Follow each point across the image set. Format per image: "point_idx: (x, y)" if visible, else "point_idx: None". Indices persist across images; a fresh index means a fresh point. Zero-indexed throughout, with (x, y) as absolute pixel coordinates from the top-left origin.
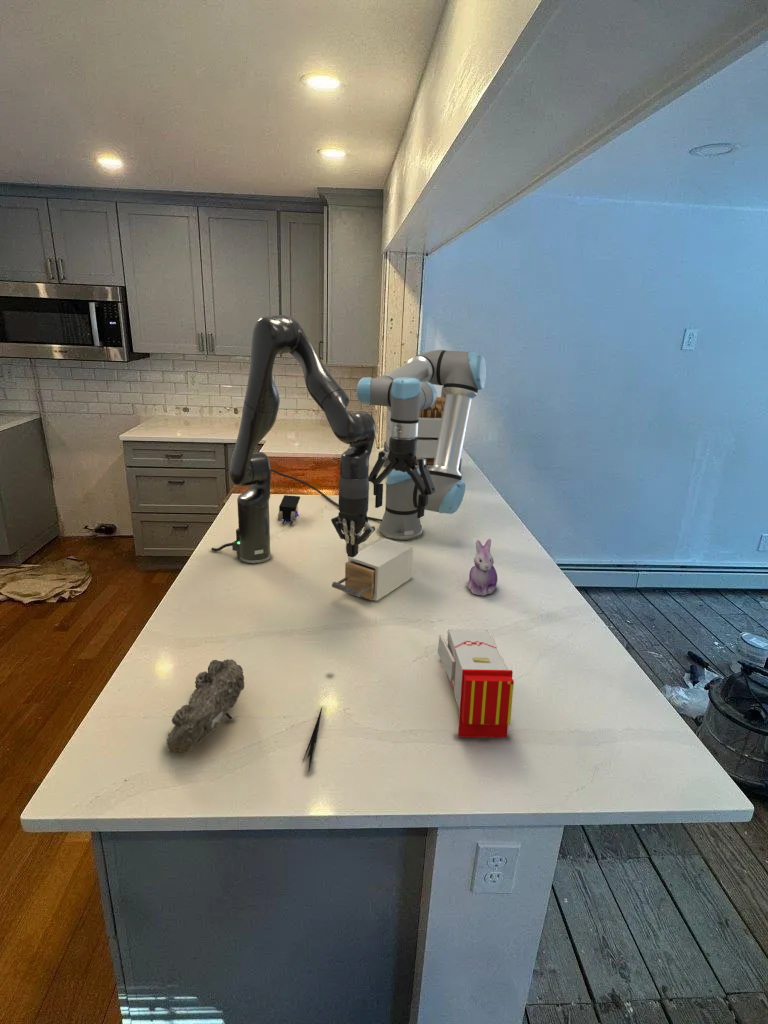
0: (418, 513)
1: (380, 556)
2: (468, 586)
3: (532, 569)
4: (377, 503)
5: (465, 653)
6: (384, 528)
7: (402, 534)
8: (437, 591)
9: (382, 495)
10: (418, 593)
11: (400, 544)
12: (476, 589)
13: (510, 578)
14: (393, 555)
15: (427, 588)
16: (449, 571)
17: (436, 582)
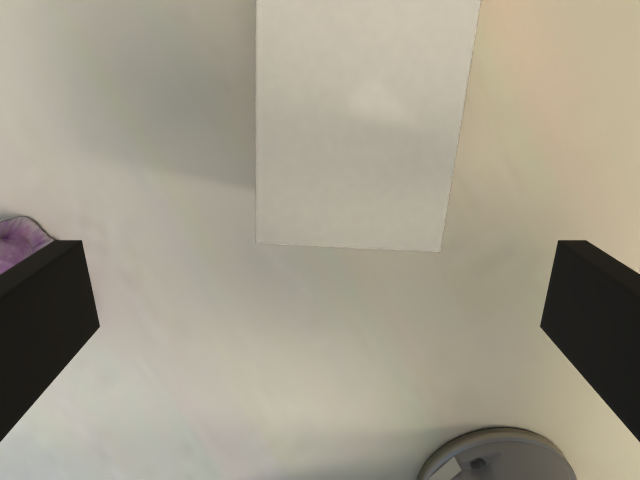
0: (38, 259)
1: (330, 3)
2: None
3: (4, 472)
4: (587, 261)
5: None
6: (544, 458)
7: (463, 456)
8: (137, 161)
9: (605, 397)
10: (183, 101)
11: (323, 229)
12: (7, 228)
13: None
14: (273, 67)
15: (180, 160)
16: (194, 324)
17: (182, 224)
